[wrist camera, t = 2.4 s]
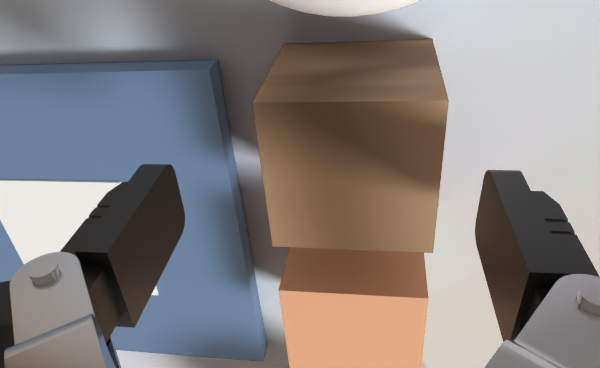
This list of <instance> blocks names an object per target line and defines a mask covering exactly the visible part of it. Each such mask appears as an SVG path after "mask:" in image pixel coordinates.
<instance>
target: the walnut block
mask: <svg viewBox="0 0 600 368" xmlns="http://www.w3.org/2000/svg"><path fill="white" fill-rule="evenodd" d="M448 101H449V100H448V97H447V93H446V89H445V85H444V81H443V78H442V74H441V70H440V66H439V63H438V59H437V55H436V51H435V47H434V44H433V40H432V39H417V40H385V41H354V42H322V43H291V44H284V45H283V47H282V48H281V50H280V52H279V54H278V56H277V58H276V60H275V61H274V63H273V65H272V67H271V69H270V71H269V72H268V74H267V76H266V78H265V80H264V82H263V83H262V85H261V87H260V89H259V91H258V93H257V94H256V96H255V98H254V100H253V102H252V106H253V113H254V120H255V127H256V134H257V141H258V148H259V155H260V162H261V169H262V176H263V183H264V190H265V197H266V204H267V211H268V218H269V225H270V232H271V239H272V246H274V247H300V248H325V249H350V250H376V251H401V252H426V253H433V248H434V238H435V228H436V218H437V209H438V199H439V189H440V179H441V169H442V160H443V150H444V140H445V130H446V121H447V111H448Z"/></svg>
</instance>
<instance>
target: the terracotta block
mask: <svg viewBox="0 0 600 368" xmlns="http://www.w3.org/2000/svg"><path fill="white" fill-rule="evenodd" d="M279 296H280V303H281V310H282V318H283V325H284V332H285V339H286V346H287V353H288V360H289V367H290V368H421V364H422V355H423V345H424V335H425V326H426V316H427V306H428V291H427V281H426V271H425V261H424V252H401V251H376V250H350V249H325V248H300V247H289V250H288V254H287V259H286V263H285V267H284V271H283V275H282V279H281V283H280V287H279Z"/></svg>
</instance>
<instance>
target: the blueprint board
mask: <svg viewBox="0 0 600 368" xmlns="http://www.w3.org/2000/svg"><path fill="white" fill-rule="evenodd" d="M142 164H170V165H172V166H173V168H174V170H175V173H176V177H177V182H178V186H179V190H180V194H181V199H182V203H183V207H184V212H185V226H184V230H183V233H182V236H181V237H180V239H179V241H178V243H177V245H176V247H175V249H174V251H173V253H172V255H171V257H170V259H169V261H168V263H167V265H166V267H165V269H164V271H163V273H162V275H161V277H160V279H159V281H158V283H157V285H156V287H155V289H154V291H153V293H152V295H151V297H150V298H149V300H148V302H147V304H146V306H145V308H144V310H143V312H142V314H141V316H140V318H139V320H138V322H137V324H136V326H135V328H133V327H117V326H116V327H115V329H114V331H113V333H112V335H111V338H112V341H113V343H114V346H115V350H125V351H137V352H150V353H163V354H175V355H188V356H200V357H213V358H226V359H238V360H251V361H264V357H265V353H266V349H267V342H266V336H265V330H264V324H263V319H262V313H261V307H260V302H259V296H258V290H257V284H256V279H255V273H254V267H253V261H252V256H251V250H250V244H249V238H248V233H247V227H246V221H245V216H244V210H243V204H242V198H241V193H240V187H239V181H238V175H237V170H236V164H235V158H234V152H233V147H232V141H231V135H230V130H229V124H228V118H227V112H226V107H225V101H224V95H223V89H222V84H221V78H220V72H219V66H218V61H217V60H192V61H152V62H113V63H73V64H34V65H0V282H5V281H10V280H11V278H12V277H13V275H14V274H15V273H16V271H17V270H18V269H19V268H20V267H22V266H23V265H24V264H26V263H27V262H29V261H31V260H33V259H35V258H37V257H39V256H42V255H45V254H48V253H53V252H60V251H61V249H62V248H63V247H64V246H65V245H66V243H67V242H68V241H69V240H70V238H71V237H72V236H73V235H74V233H75V232H76V231H77V230H78V228H79V227H80V226H81V225H82V223H83V222H84V221H85V220H86V218H89V215H90V213H91V212H92V211H93V210H94V208H97V205H98V203H99V202H100V201H101V200H102V198H103V197H104V196H105V195H106V193H107V192H109V191H110V190H112V189H113V188H115V187H116V186H118V185H119V184H121V183H122V182H128V181H129V180H130V178H131V177H132V176H133V174H134V173H135V172H136V170H137V169H138V168H139V167H140V166H141V165H142Z"/></svg>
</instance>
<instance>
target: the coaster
mask: <svg viewBox="0 0 600 368" xmlns="http://www.w3.org/2000/svg"><path fill="white" fill-rule="evenodd" d="M270 1H272V2H274V3H276V4H278V5H281V6H284V7H288V8H291V9H294V10H298V11H301V12H304V13H310V14H316V15H323V16H335V17H355V16H363V15H371V14H378V13H382V12H386V11H390V10H394V9H398V8H402V7H405V6H408V5H410V4H413V3H415V2H418V1H420V0H270Z"/></svg>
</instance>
